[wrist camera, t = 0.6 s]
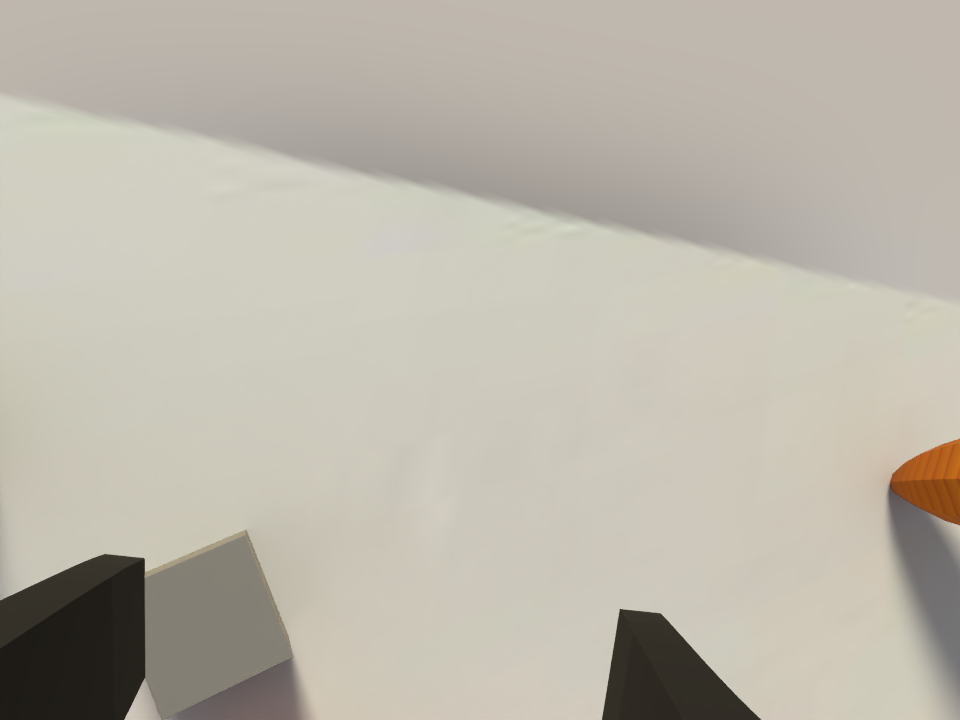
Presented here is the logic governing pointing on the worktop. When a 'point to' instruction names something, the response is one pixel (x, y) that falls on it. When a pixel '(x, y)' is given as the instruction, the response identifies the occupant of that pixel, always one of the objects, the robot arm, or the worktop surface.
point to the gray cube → (209, 624)
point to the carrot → (932, 481)
